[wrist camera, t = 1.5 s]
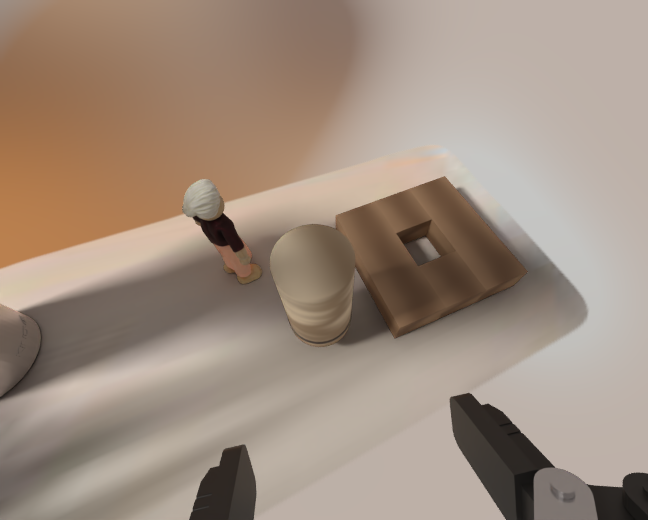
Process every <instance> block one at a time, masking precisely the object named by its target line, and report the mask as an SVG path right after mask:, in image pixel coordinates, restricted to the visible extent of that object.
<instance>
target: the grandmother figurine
mask: <svg viewBox="0 0 648 520" xmlns="http://www.w3.org/2000/svg"><path fill="white" fill-rule="evenodd" d="M182 208H183V209H182V210H183V213H184V214H186V216H188V217H193V219H194V220H195V222H196V224H197V225H199V226H201V228H202V230H203V232H204V234H205V235H206V236H207V237H208V239H209V240H210V241H211V242H212V243H213V244H214V245H215V247H216V248H217V250H218V251H219V252H220V253H221V255H222V257H223V260H224V262H225V264H224V270H225V271H226V272H227V273H234V272H236V274H237V275H238V276H237V279H238V281H239V282H240V283H241V284H247V283H249V282H251V281H254V280H256V279H258V278H259V277H260V276H261V274H262V270H261V268H260V267H259V266H258V265H256V264H250V261H251V258H252V253H251V251H250V250H249V248H248V247H247V245H246V244H245V242H244V241H243V240H242V239H241V238H240V237H239V235H238V234H237V232H236V230H235V227H234V224H233V222H232V221H231V220H230V219H229V218H228V217H227V216H226V215H225V214H224V213H223V211H224V201H223V199H222V197H221V196H220V194H219V192H218V190H217V188H216V186H215V185H214V184H213V183H212V181H210V180H208V179H201V180H199V181H197V182H195V183H193V184H192V185H191V186H190V187H189V188H188V190H187V192H186V194H185V196H184V204H183V207H182Z"/></svg>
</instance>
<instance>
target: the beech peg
mask: <svg viewBox="0 0 648 520" xmlns="http://www.w3.org/2000/svg"><path fill="white" fill-rule="evenodd" d="M270 270H271V274H272V276H273V279H274V282H275V284H276V287H277V290H278V292H279V295H280V298H281V300H282V303H283V305H284V308H285V311H286V313H287V316H288V320H289V323H290V326H291V328H292V330H293V331H294V333H295V335H296V336H297V337H298V338H299V339H300V340H301V341H302V342H304V343H306V344H308V345H311V346H315V347H325V346H329V345H332V344H334V343H336V342H338V341H339V340H340V339H341V338H342V337H343V336H344V335H345V334H346V332H347V330H348V328H349V325H350V321H351V315H352V309H351V308H352V296H353V284H354V273H355V252H354V249H353V247H352V244H351V243H350V241H349V240H348V239H347V238H346V236H344V235H343V234H342V233H341V232H339V231H338V230H336V229H334V228H331V227H329V226H325V225H318V224H311V225H304V226H300V227H297V228H295V229H292V230H291V231H289V232H287V233H286V234H284V235H283V236H282V237H281V238H280V239H279V240H278V241H277V243H276V244H275V246H274V247H273V250H272V252H271V255H270Z"/></svg>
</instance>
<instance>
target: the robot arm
mask: <svg viewBox="0 0 648 520" xmlns="http://www.w3.org/2000/svg"><path fill="white" fill-rule="evenodd" d="M40 342H41V335H40V329H39V327H38V324H37V323H36V322H35V321H34V320H33V319H32V318H30V317H28V316H27V315H24V314H22V313H20V312H18V311H15V310H13V309H11V308H9V307H6V306H4V305H2V304H0V397H1V396H2V395H4V394H5V393H6V392H8V391H9V390H10V389H11V388H13V387H14V386H15V385H16V384H17V383H18V382H19V381H20V380H21V379H22V378H23V377H24V375H25V374H26V373H27V371H28V370H29V369H30V367H31V366H32V364H33V362H34V360H35V359H36V356H37V353H38V351H39V348H40ZM450 408H451V418H452V426H453V433H454V437H455V440H456V442H457V444H458V446H459V448H460V450H461V451H462V453H463V454H464V456H465V457H466V459H467V461H468V462H469V464H470V465H471V467H472V468H473V470H474V471H475V473H476V474H477V476H478V477H479V479H480V480H481V482H482V483H483V485H484V487H485V488H486V489H487V491H488V493H489V494H490V496H491V497H492V499H493V500H494V502H495V503H496V505H497V507H498V508H499V510H500V511H501V513H502V514H503V515H504V517H505V519H506V520H648V474H646V473H631V474H629V475H627V476H625V477H624V479H623V488H622V487H607V486H594V485H588V484H585V482H584V481H582V480H581V479H580V478H579V477H577V476H575V475H574V474H572V473H570V472H568V471H565V470H562V469H558V468H555V467H554V466H553V465H552V464H551V463H550V461H549V460H548V459H547V458H546V457H545V456H544V455H543V454H542V453H541V452H540V451H539V450H538V449H537V448H536V447H535V446H534V445H533V444H532V443H531V441H530V440H529V439H528V438H527V437H526V436H525V435H524V434H523V433H521V432H520V430H519V429H518V428H517V427H516V426H515V425H514V424H512V422H511V421H510V419H509V418H508V417H507V416H506V415H505V414H504V413H503V412H502V411H500V410H498V409H497V408H495V407H493V406H491V405H490V404H485V405H481V404H480V403H479V402H478V401H477V400H476V399H475V398H474V396H473V395H472V394H470V393H467V394H462V395H458V396H454V397H451V398H450ZM196 497H197V499H196V500H195V503H194V506H193V512H192V513H191V516H190V519H189V520H254V511H255V502H256V481H255V476H254V472H253V469H252V465H251V462H250V458H249V455H248V451H247V448H246V446H245V445H239V446H235V447H231V448H226V449H224V450H223V453H222V457H221V461H220V465H219V466H218V467H213V468H210V470H209V471H208V473H207V474H206V475H205V477H204V478H203V480H202V481H201V483H200V487H199V490H198V493H197V496H196Z"/></svg>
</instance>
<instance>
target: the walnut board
mask: <svg viewBox="0 0 648 520" xmlns="http://www.w3.org/2000/svg"><path fill="white" fill-rule="evenodd" d="M336 230H338V231H339V232H341V233H342V234H343V235H344V236H346V238H347V239H348V240H349V241H350V243H351V244H352V247H353V249H354V252H355V267H356V269H357V271H358V273H359V274H360V276H361V278H362V280H363V282H364V284H365V285H366V287H367V289H368V291H369V293H370V294H371V296H372V298H373V300H374V302H375V304H376V305H377V307H378V309H379V311H380V313H381V314H382V316H383V318H384V320H385V322H386V324H387V325H388V327H389V329H390V331H391V333H392V334H393V336H394V338H397V337H399V336H401V335H404V334H406V333H408V332H410V331H413V330H415V329H417V328H419V327H422V326H424V325H426V324H428V323H431V322H433V321H435V320H437V319H440V318H442V317H444V316H446V315H449V314H451V313H453V312H455V311H458V310H460V309H462V308H464V307H467V306H469V305H471V304H473V303H476V302H478V301H480V300H482V299H485V298H487V297H489V296H491V295H494V294H496V293H498V292H500V291H502V290H505V289H507V288H509V287H511V286H514V285H515V284H516V283H517V282H518V281H519V280H520V279H521V278H522V277H523V276H524V275H525V274H526V273H527V272H528V271H527V270H526V269H525V268H524V267H523V266H522V264H521V263H520V262H519V261H518V260H517V259H516V257H515V256H514V255H513V254H512V253H511V252H510V251H509V249H508V248H507V247H506V246H505V245H504V244H503V243H502V241H501V240H500V239H499V238H498V237H497V236H496V235H495V233H494V232H493V231H492V230H491V229H490V228H489V226H488V225H487V224H486V223H485V222H484V221H483V220H482V218H481V217H480V216H479V215H478V214H477V213H476V212H475V210H474V209H473V208H472V207H471V206H470V205H469V203H468V202H467V201H466V200H465V199H464V198H463V197H462V195H461V194H460V193H459V192H458V191H457V190H456V189H455V187H454V186H453V185H452V184H451V183H450V182H449V180H448V179H447V178H446V177H445V176H444V177H441V178H439V179H436V180H433V181H430V182H428V183H425V184H422V185H419V186H416V187H414V188H411V189H408V190H405V191H402V192H400V193H397V194H394V195H391V196H389V197H386V198H383V199H380V200H377V201H375V202H372V203H369V204H366V205H364V206H361V207H358V208H355V209H352V210H350V211H347V212H344V213H341V214H338V215H336ZM425 235H426V237H427V238H428V239H429V241H430V242H431V244H432V245H433V246H434V248H435V249H436V250H437V252H438V253H439V255H440V256H441V257H439V258H437V259H435V260H432V261H430V262H427V263H425V264H422V265H420V266H418V265H417V264H416V262H415V261H414V259H413V258H412V256H411V255H410V253H409V252H408V250H407V249H406V247H405V246H404V244H405V243H408V242H410V241H413V240H415V239H418V238H420V237H423V236H425Z"/></svg>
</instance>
